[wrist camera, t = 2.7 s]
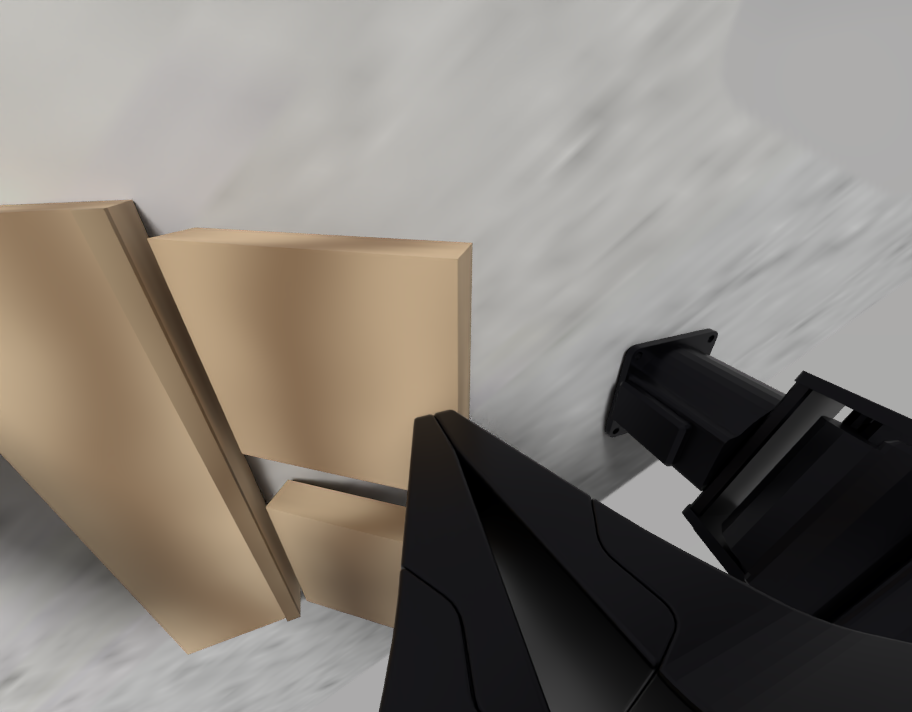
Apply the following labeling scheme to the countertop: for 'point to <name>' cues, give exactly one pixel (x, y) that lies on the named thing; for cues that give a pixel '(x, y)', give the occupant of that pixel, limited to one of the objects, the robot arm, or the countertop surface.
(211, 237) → the plank
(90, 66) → the countertop surface
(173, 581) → the laid board
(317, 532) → the plank
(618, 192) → the countertop surface
